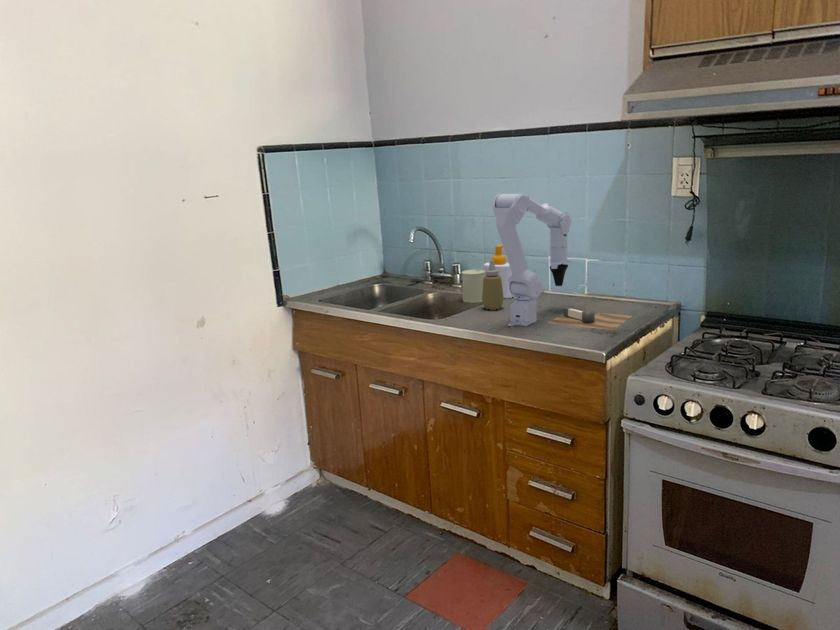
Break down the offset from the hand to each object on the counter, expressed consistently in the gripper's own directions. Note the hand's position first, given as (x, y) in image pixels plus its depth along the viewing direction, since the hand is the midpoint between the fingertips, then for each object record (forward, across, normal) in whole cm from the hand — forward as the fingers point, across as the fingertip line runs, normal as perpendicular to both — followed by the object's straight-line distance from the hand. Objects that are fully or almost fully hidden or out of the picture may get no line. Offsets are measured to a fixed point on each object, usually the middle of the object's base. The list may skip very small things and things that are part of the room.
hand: (558, 285), depth 219 cm
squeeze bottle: (+10, +2, +25) cm, 27 cm away
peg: (+9, -10, -9) cm, 16 cm away
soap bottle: (+10, +22, +29) cm, 38 cm away
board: (+10, -10, -13) cm, 19 cm away
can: (+10, +13, +37) cm, 40 cm away
